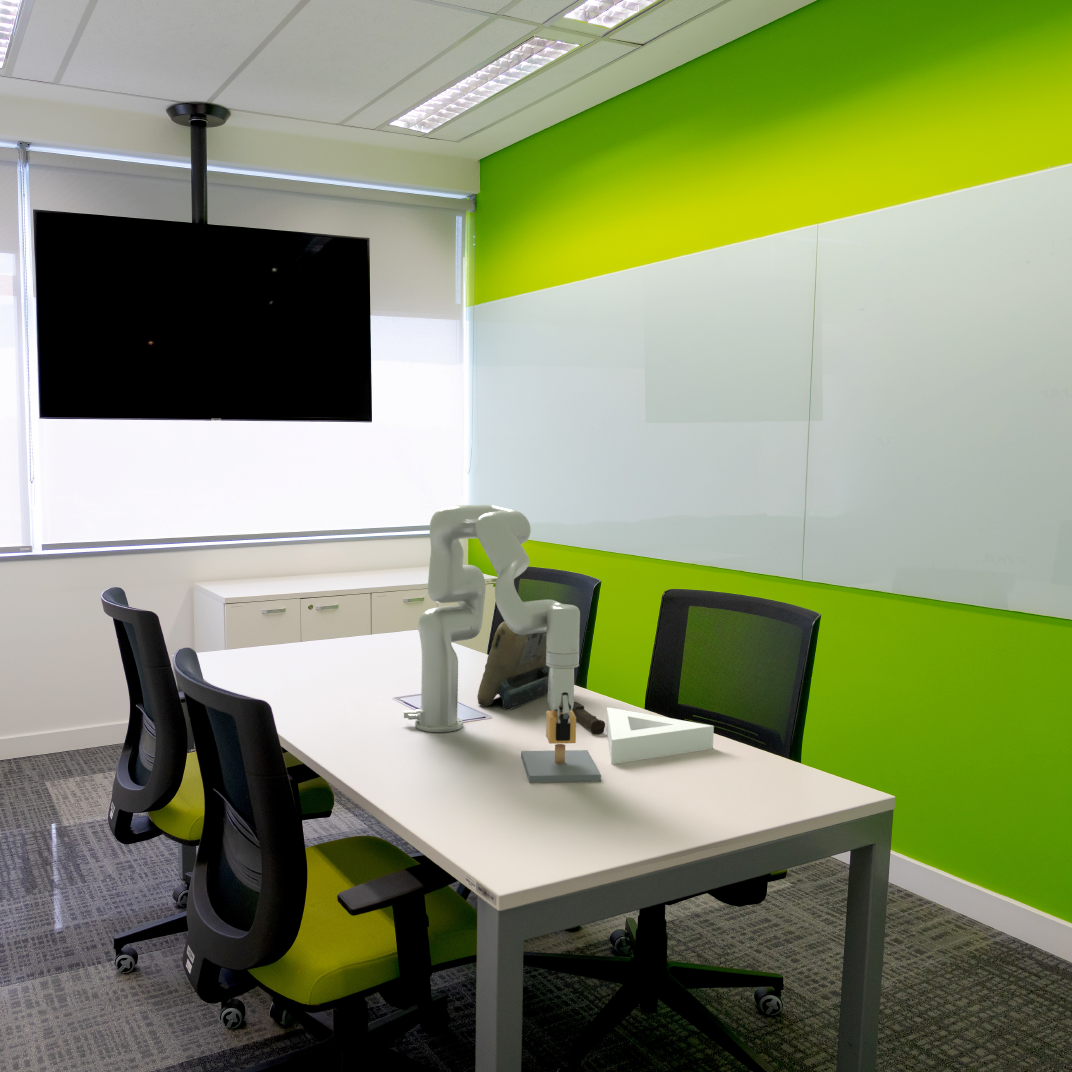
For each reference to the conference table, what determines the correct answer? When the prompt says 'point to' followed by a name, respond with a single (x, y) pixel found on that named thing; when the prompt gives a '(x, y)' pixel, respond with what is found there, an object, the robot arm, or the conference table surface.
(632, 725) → the triangle block
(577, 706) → the brown piece
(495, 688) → the tablet
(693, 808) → the conference table surface
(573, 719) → the orange cube
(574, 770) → the peg board
